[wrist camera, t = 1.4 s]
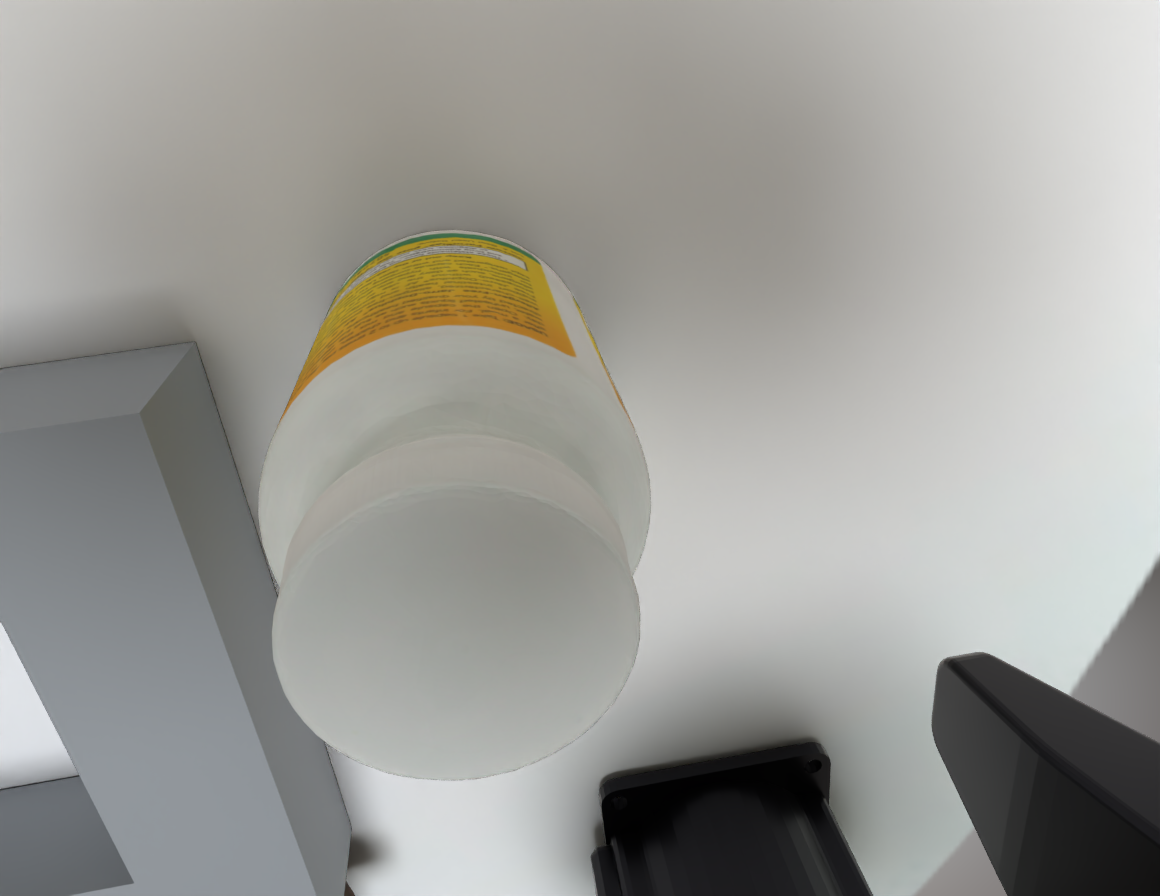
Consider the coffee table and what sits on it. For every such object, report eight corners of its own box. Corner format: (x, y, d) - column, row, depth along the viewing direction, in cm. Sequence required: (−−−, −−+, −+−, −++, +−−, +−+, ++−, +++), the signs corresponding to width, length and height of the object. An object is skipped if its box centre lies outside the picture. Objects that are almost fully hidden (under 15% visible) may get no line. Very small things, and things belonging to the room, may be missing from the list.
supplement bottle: (635, 356, 18) (799, 641, 10) (455, 511, 19) (463, 890, 11) (456, 161, 16) (469, 313, 8) (264, 348, 17) (88, 666, 9)
